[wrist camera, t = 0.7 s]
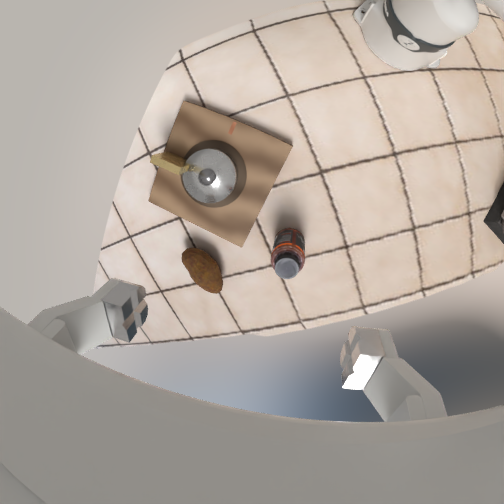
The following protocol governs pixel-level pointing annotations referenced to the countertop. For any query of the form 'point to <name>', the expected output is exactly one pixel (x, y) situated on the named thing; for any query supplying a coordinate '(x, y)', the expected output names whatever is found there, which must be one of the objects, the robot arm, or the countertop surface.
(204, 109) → the panel
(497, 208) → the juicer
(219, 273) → the potato
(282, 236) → the supplement bottle
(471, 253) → the countertop surface
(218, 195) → the grey round gold-handled piece
